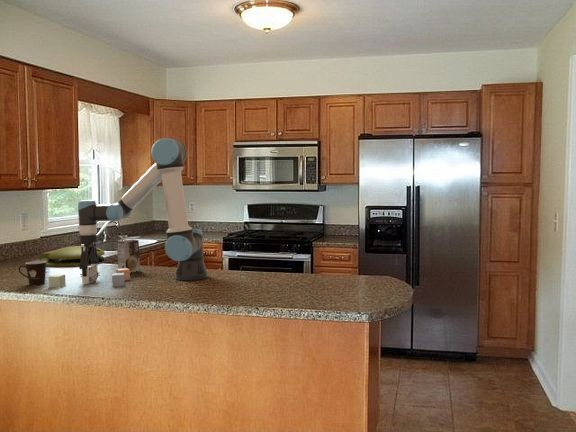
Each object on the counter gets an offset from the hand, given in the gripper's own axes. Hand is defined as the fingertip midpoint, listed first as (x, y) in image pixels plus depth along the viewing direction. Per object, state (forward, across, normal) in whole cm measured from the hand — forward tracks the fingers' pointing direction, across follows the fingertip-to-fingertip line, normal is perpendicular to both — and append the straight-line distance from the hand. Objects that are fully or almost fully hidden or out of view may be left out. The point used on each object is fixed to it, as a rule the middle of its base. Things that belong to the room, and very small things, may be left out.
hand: (90, 280), depth 245 cm
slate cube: (+1, +6, +14) cm, 15 cm away
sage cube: (+1, +5, -13) cm, 14 cm away
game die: (+2, 0, 0) cm, 2 cm away
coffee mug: (+2, -3, -26) cm, 26 cm away
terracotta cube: (+1, -7, +13) cm, 15 cm away
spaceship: (+2, -66, -29) cm, 73 cm away
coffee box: (+2, -28, +11) cm, 30 cm away
